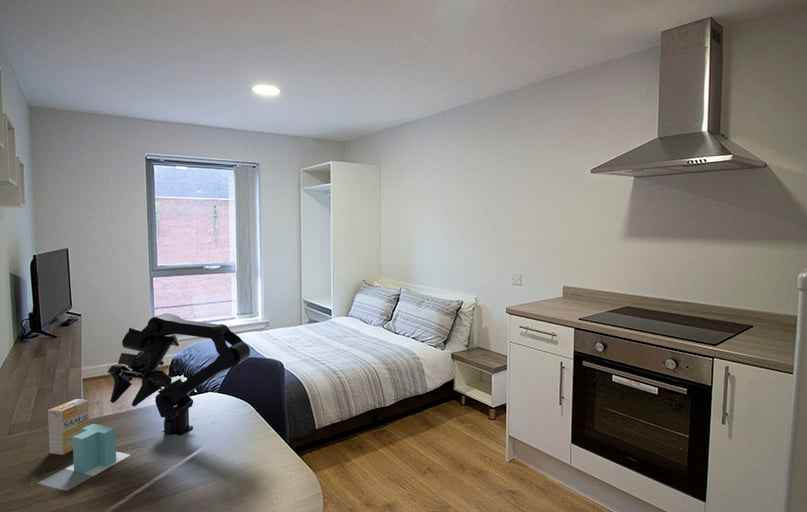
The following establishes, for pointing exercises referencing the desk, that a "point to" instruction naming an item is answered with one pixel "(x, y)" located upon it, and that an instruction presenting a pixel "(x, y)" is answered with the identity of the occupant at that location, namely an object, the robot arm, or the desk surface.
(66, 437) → the supplement box
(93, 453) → the t block
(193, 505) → the desk surface
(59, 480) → the board
